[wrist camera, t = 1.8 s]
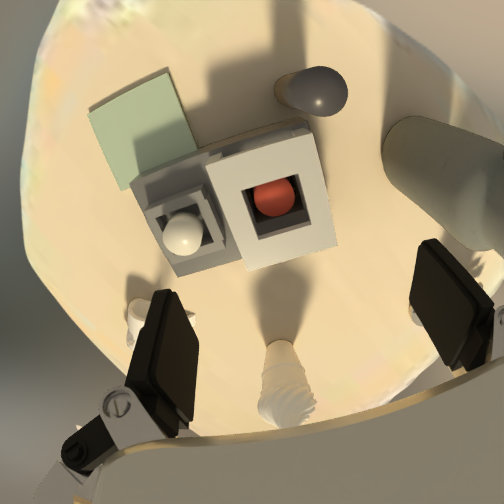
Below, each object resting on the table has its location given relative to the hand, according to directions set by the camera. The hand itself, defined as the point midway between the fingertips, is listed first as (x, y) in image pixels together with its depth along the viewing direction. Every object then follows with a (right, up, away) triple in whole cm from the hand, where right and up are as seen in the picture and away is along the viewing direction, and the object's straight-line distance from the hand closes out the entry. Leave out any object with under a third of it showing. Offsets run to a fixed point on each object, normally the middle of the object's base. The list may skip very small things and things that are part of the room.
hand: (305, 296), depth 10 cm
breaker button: (0, +8, +19) cm, 21 cm away
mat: (-14, +14, +17) cm, 26 cm away
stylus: (+2, +18, +15) cm, 24 cm away
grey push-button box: (-4, +8, +21) cm, 23 cm away
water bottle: (+17, +14, +19) cm, 29 cm away
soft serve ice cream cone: (+2, -14, +35) cm, 38 cm away
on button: (-8, +4, +17) cm, 19 cm away
